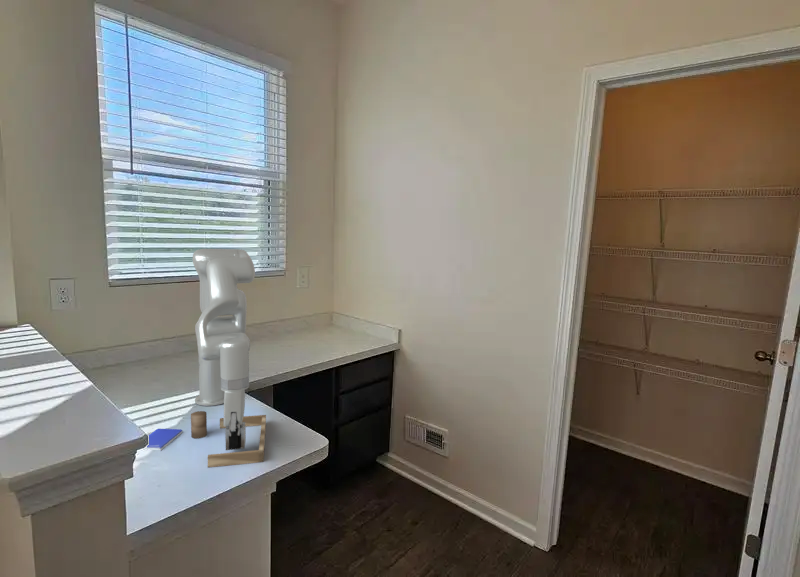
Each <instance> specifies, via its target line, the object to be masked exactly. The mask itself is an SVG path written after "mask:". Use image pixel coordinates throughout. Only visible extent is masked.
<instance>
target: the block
mask: <svg viewBox="0 0 800 577" xmlns="http://www.w3.org/2000/svg"><path fill="white" fill-rule="evenodd" d="M236 424H238V423H236ZM236 429H237V430H238V427H236ZM224 431H225V432H224V434H225V451H232V450H236V449H229V424H228V426H226V428H224ZM240 434H241V448H240V449H239V450H245V448H246V447H245V446H246V440H247V439H246V435H247V434H246V427H245V422H242V424H241V425H240Z"/></svg>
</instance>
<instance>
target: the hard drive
mask: <svg viewBox="0 0 800 577" xmlns="http://www.w3.org/2000/svg"><path fill="white" fill-rule="evenodd" d="M182 434H183V429H179V428H178V429H177V428H157V429H154V431H153V432H151V433H150V434H148V435H149V445H148V446H147V448H145V449H147V450H145V449H143V450H142V451H151V450H161V451H163V449H164V448H166V447H167V446H169V444H171V443H172V442H173V441H174V440H175V439H176V438H177V437H179V436H180V435H182ZM148 449H150V450H148Z"/></svg>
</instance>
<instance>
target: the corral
mask: <svg viewBox="0 0 800 577" xmlns="http://www.w3.org/2000/svg"><path fill="white" fill-rule="evenodd" d="M243 422H245V427H257V426H260V433H259V446H258V449H256V450H255V449H254V450H246V451H244V450H243V451H235V452H223V453H222V452H221V453H212V454H208V455H207V468H216V467H217V468H218V467H226V466H236V465H237V466H238V465H245V464H246V465H247V464H248V465H249V464H255V463H264V459H265V458H264V456H265V444H266V432H267V431H266V428H267V414H260V415H245V416H244V417H243ZM219 429H221V430H222V429H226V427H225V426H224V417H220V418H219Z"/></svg>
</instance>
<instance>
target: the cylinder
mask: <svg viewBox="0 0 800 577" xmlns="http://www.w3.org/2000/svg"><path fill="white" fill-rule="evenodd" d="M207 420H208V419H207V411H204V410H198V411H194V412H191V414H190V429H191V431H190V432H191V434H190V435H191V436H190V437H191V438H192V439H193V440H194V439H196V440H198V439H203V438H205V437H206V436H208V429H207V428H208V427H207V426H208V425H207V424H208V421H207Z"/></svg>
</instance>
